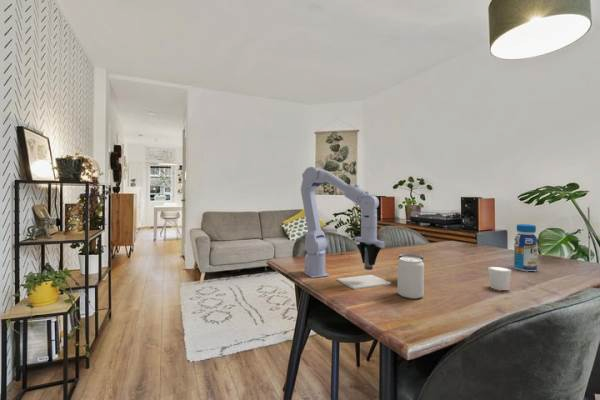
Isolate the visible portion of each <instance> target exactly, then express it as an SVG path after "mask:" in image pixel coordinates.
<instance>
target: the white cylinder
mask: <svg viewBox="0 0 600 400" xmlns="http://www.w3.org/2000/svg"><path fill="white" fill-rule="evenodd" d="M511 275H512V269H510V268H507V267H503V266H502V267H501V266H488V279H489V288H490V287H491V288H490V289H492V288H494V289H493V290H495V289H498V290H497V291H501V290H508V291H509V290H510V284H511V277H512V276H511Z"/></svg>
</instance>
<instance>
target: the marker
mask: <svg viewBox="0 0 600 400" xmlns="http://www.w3.org/2000/svg"><path fill="white" fill-rule="evenodd" d="M363 264H364V270H365V271H373V269H374V268H373V266H374V265H369V259H368V252H367V249H366V247H365V263H363Z"/></svg>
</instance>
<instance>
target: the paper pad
mask: <svg viewBox="0 0 600 400" xmlns="http://www.w3.org/2000/svg"><path fill="white" fill-rule="evenodd" d="M336 280H337V282H339V283H341V284H343V285H345V286H347V287H349V288H351V289H353V290H360V289H367V288H375V287H381V286H387V285H388V286H389V285H392V282H391V281H388V280H386V279H384V278H381V277H378V276H376V275H374V274H365V275H357V276H356V275H355V276H350V277H349V276H348V277H341V278H336Z"/></svg>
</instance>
